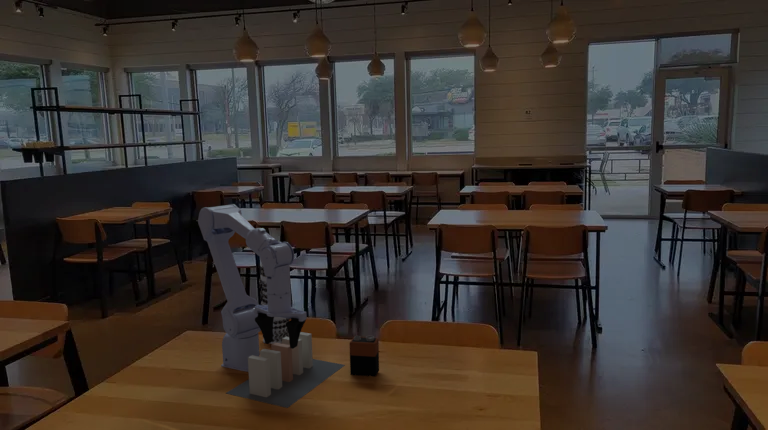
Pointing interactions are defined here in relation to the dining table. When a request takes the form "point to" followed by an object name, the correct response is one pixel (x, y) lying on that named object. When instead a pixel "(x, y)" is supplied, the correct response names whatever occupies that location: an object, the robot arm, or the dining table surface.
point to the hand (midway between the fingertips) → (281, 344)
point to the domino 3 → (285, 360)
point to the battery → (364, 356)
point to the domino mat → (292, 385)
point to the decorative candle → (278, 322)
